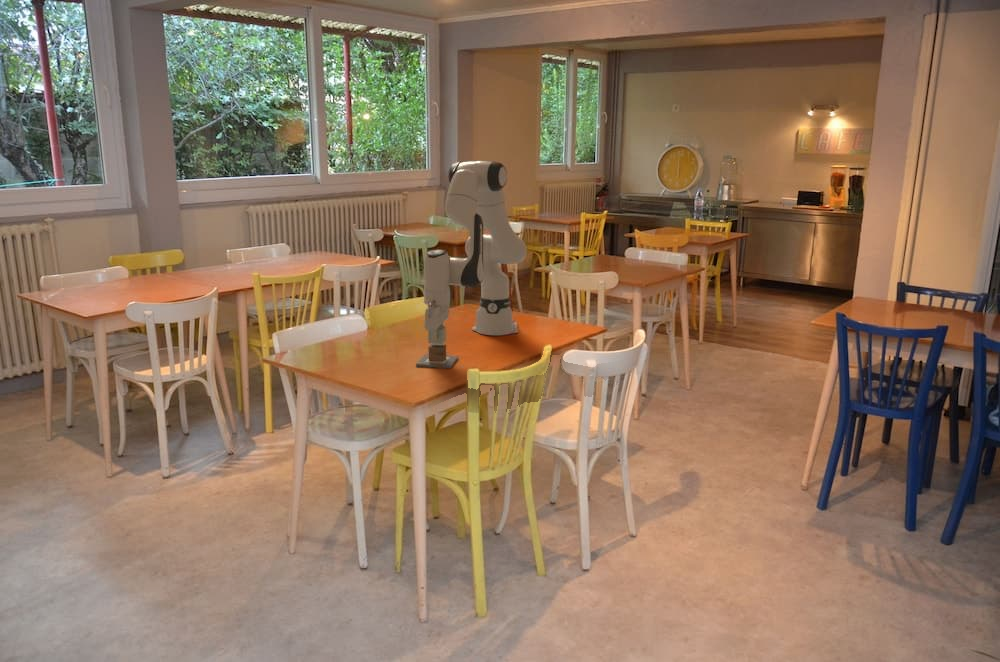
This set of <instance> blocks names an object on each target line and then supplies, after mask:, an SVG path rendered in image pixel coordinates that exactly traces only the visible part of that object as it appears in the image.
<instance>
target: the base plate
mask: <svg viewBox="0 0 1000 662" xmlns="http://www.w3.org/2000/svg"><path fill="white" fill-rule="evenodd" d="M457 359H458V360H459V356H458V355H447V354H446V359H445V360H444V361H443V362H434V361H429V353H427V354H424V355H422V357H421V358H420V359H419V360H418V361H417V362H416V364H415V367H416V368H430V367H439V368H438V369H446V368H451V369H452V367H454V365H455V363H456V362H457V361H458V360H457Z"/></svg>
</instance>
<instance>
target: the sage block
mask: <svg viewBox="0 0 1000 662" xmlns="http://www.w3.org/2000/svg"><path fill="white" fill-rule="evenodd" d="M427 333H428V336H427V339H428V344H432V343H433V344H445V342H446V341H447V336H446V335H447V326H445V325H443V326H439V327H438V328H437V334H438V339H437V340H432V334H431V331H427Z"/></svg>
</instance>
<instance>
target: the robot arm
mask: <svg viewBox="0 0 1000 662" xmlns="http://www.w3.org/2000/svg"><path fill="white" fill-rule="evenodd" d="M447 174H448V182H449V187H448V188H447V189H448V190H447V192H446V199H445V204H444V212H445V214H446V217H447V218H448V219H449V221H451V222H452V223H453V224H454V225H456V226H458V227H461V228H463V229H464V230H466V231H467V232H468V235H469V237H468V238H467V240H466V241H465V245H464V249H465V250H464V251H465V253H466V256H467V257H456V256H455V257H454V256H450V255H449V254H448V251H447V250H445V249H431V250H429V251H427V252H425V255H424V262H423V281H424V286H423V304H424V305H427V307H426V308H425V311H424V330H426V331H427V332H428V331H431V334H432V340H437V339H438V334H437V328H438V327H439V326H444V322H445V321H446V320H447V319H448V318H449V314H450V303H451V302H450V301H451V299H452V293H451V289H450V287H451V285H452V286H460V287H461V286H462V287H464V288H465V287H466V288H471V289H474V288H476V287H477V286H479V285H480V287H481V288H480V290H481V291H480V293H481V295H480V297H479V306H480V307H479V308H478V309H477V310H476V312H475V313H476V315H475V325H474V326H472V328H471V331H473V332H477V333H479V334H481V335H485V336H486V335H487V336H506V335H510V334H516V333H519V331H518V330H519V329H518V324H517V321H515V320H514V312H513V310H512V308H511V307H510V306H511V297H510V279H509V276H508V275H507V274H506V273H505V272H503V270H501V268H500V267H499V264H502V265H503V264H504V265H515V264H520V263H522V262H523V261H524V260H525V258H526V256H527V253H528V252H527V251H528V250H527V249H528V248H527V244H526V242H525V241H524V240H523V239H522V238H521V237H520V236H518V235H517V234H516V233H515V231H514V230H513V227H512V226H511V224H510V222H509V220H508V215H507V209H506V199H505V192H504V187H505V186H506V185H507V180H508V179H507V178H508V175H507V174H508V173H507V169H506V166H505V165H503V164H502V163H501V162H499V161H486V160H472V161H457V162H454V163H452V165H451V166H450V167H449V170H448V173H447ZM484 229H485V230H487V232H488V233H484Z"/></svg>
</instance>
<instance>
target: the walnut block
mask: <svg viewBox="0 0 1000 662" xmlns="http://www.w3.org/2000/svg"><path fill="white" fill-rule="evenodd" d="M428 354H429V361H434V362H443V361H444V360H445V359H446V355H447V344H446V343H443V344H434V343H430V345H429V346H428Z"/></svg>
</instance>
